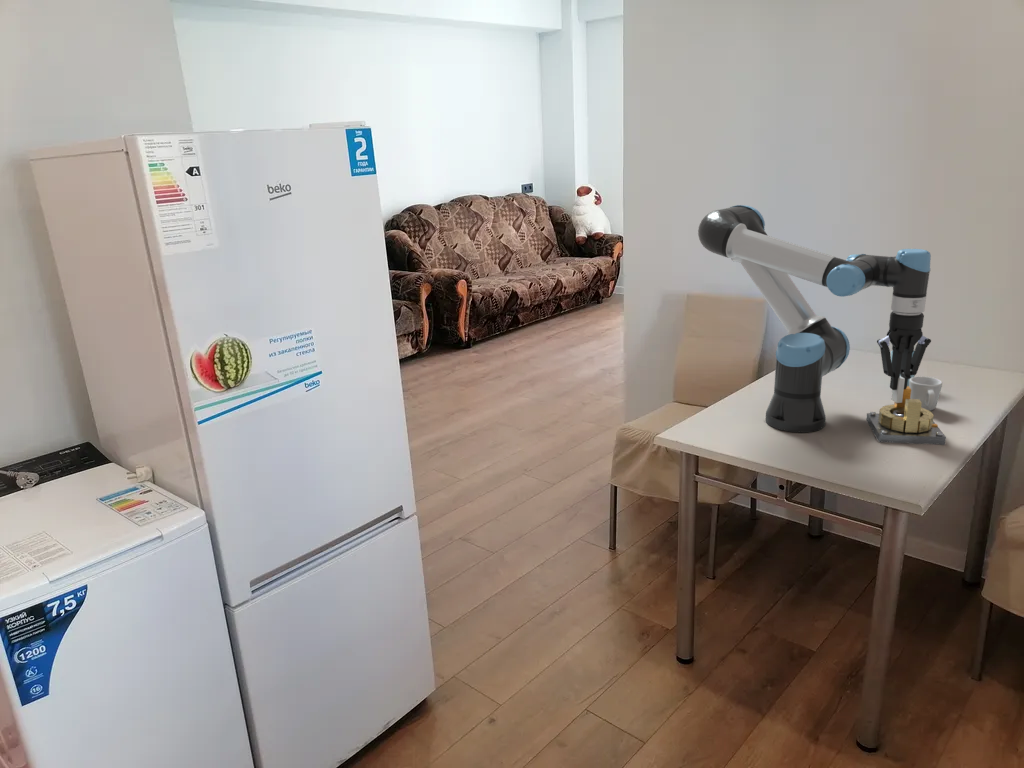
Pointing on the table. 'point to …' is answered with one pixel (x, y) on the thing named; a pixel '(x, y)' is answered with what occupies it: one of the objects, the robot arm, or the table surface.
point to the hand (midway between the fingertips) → (896, 400)
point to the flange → (904, 437)
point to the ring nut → (906, 415)
